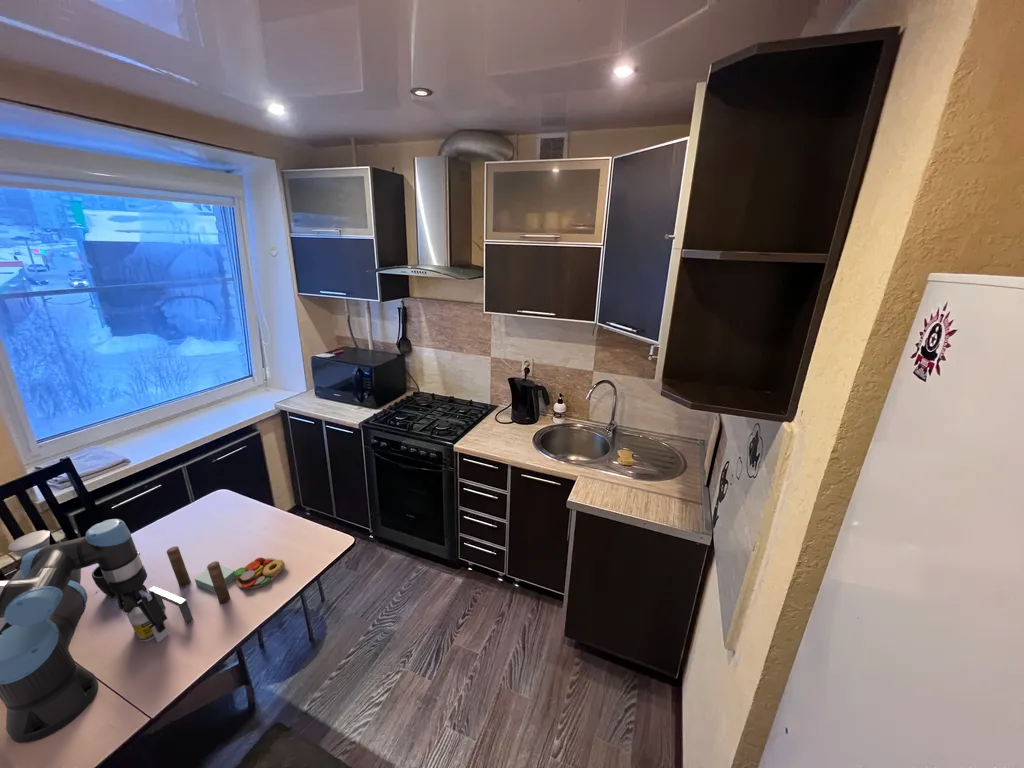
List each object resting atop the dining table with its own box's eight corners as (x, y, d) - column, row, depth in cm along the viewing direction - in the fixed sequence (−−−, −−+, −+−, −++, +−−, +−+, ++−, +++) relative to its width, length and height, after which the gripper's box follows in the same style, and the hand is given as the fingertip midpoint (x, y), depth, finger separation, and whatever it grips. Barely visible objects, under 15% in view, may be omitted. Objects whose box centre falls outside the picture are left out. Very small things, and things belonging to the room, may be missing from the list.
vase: (83, 579, 138) (53, 517, 129) (103, 596, 132) (73, 532, 123) (20, 612, 127) (-17, 547, 117) (40, 633, 120) (1, 566, 111)
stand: (216, 592, 134) (214, 586, 133) (196, 584, 137) (194, 578, 136) (236, 576, 140) (234, 570, 139) (217, 569, 143) (215, 563, 142)
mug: (133, 601, 130) (123, 578, 127) (94, 601, 131) (83, 577, 127) (154, 580, 138) (145, 557, 135) (118, 580, 138) (108, 557, 135)
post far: (183, 588, 135) (170, 554, 130) (177, 585, 136) (164, 551, 131) (192, 581, 138) (180, 547, 133) (186, 578, 139) (174, 545, 134)
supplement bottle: (147, 644, 117) (136, 619, 114) (134, 638, 119) (122, 613, 115) (167, 628, 122) (157, 603, 119) (154, 622, 124) (144, 597, 120)
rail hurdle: (188, 623, 123) (180, 603, 120) (156, 609, 128) (148, 589, 125) (193, 619, 125) (186, 599, 122) (161, 605, 129) (153, 586, 126)
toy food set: (290, 569, 143) (288, 562, 142) (253, 598, 132) (250, 590, 131) (265, 556, 149) (263, 548, 148) (227, 582, 138) (225, 575, 137)
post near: (223, 605, 129) (211, 570, 124) (216, 602, 130) (204, 567, 125) (232, 597, 132) (221, 562, 127) (225, 594, 133) (214, 560, 128)
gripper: (167, 573, 112) (191, 633, 120) (115, 552, 119) (141, 610, 127) (135, 595, 105) (163, 657, 114) (82, 571, 113) (112, 631, 121)
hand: (151, 632), depth 121 cm, fingers open, 9 cm apart
